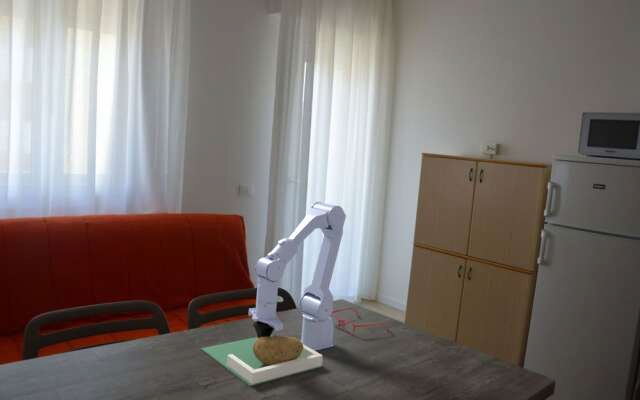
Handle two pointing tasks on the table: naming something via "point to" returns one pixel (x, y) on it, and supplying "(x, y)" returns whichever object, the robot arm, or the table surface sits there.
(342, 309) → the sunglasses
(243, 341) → the green mat
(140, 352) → the table surface
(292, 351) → the potato
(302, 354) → the white angular frame
